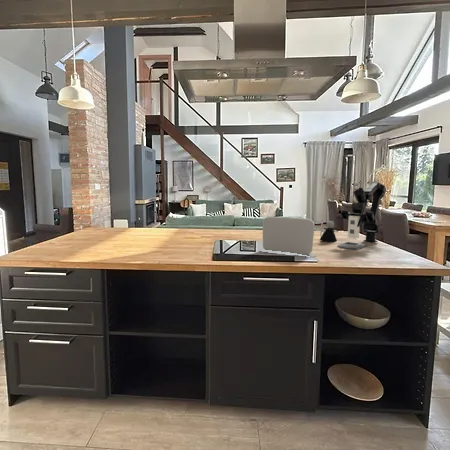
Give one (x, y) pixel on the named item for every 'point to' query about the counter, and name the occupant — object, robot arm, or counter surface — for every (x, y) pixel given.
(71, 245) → the counter surface
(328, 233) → the toy
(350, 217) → the cream rectangular prism
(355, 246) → the bracket plate
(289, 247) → the wireless router
